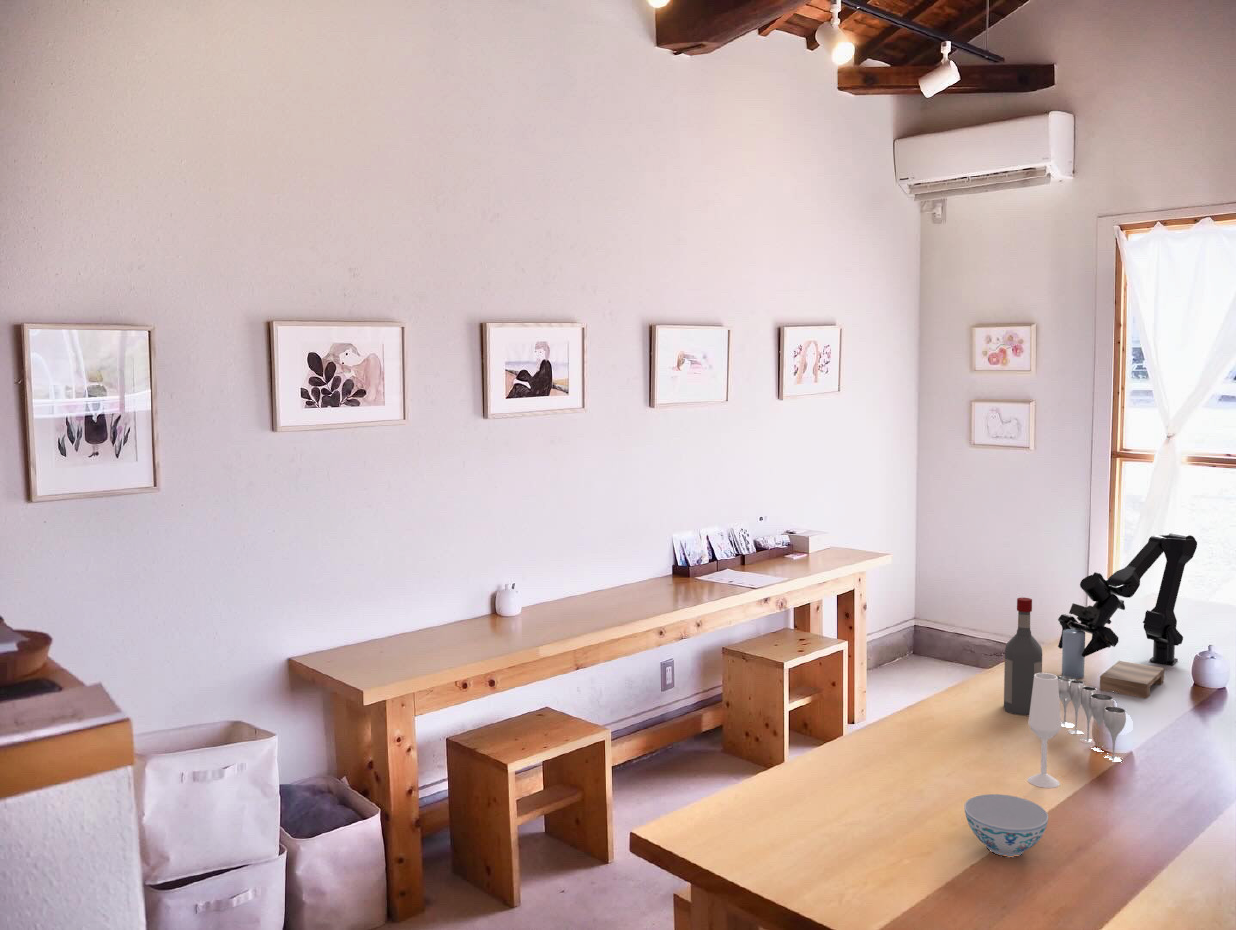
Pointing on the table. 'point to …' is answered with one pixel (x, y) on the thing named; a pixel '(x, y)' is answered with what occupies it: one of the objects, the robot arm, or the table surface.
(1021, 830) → the chinaware
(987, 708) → the table surface
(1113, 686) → the riser
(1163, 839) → the table surface
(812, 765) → the table surface
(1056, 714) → the champagne flute
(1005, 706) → the liquor
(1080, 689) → the goblet set
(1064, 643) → the tall grey cylinder
